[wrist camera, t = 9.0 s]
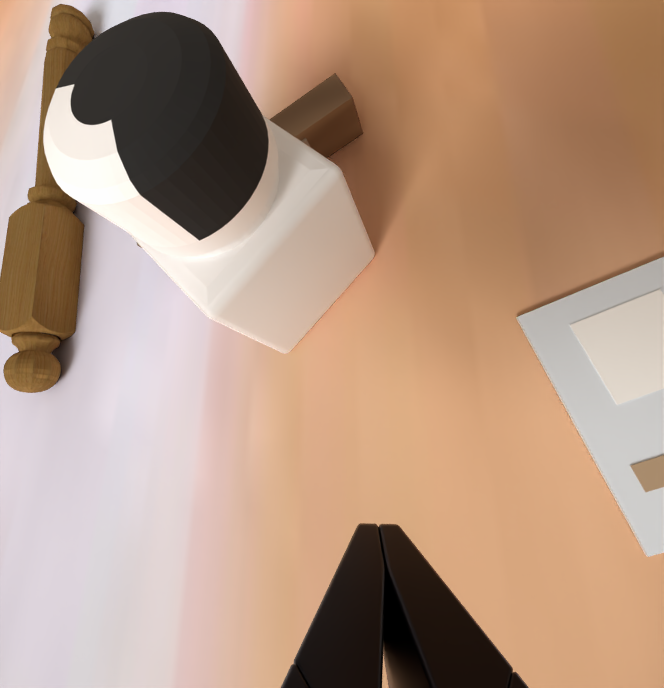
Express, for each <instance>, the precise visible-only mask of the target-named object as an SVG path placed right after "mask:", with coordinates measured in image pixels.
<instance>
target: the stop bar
mask: <svg viewBox="0 0 664 688" xmlns="http://www.w3.org/2000/svg"><path fill="white" fill-rule="evenodd" d="M270 121H271V122H273V123H274V124H276V125H277V126H279V127H280V128H282V129H283V130H285V131H286V132H288V133H289V134H291V135H292V136H294V137H295V138H297V139H298V140H300V141H301V142H303V143H304V144H306V145H307V146H309V147H310V148H312V149H313V150H315V151H316V152H318V153H319V154H321V155H322V156H324V157H325V158H327V157H328V156H330V155H331V154H333V153H334V152H336V151H337V150H339V149H340V148H342V147H343V146H345V145H346V144H348V143H349V142H351V141H352V140H354V139H355V138H357V137H358V136H360V135H361V134H363V132H362V129H361V125H360V122H359V118H358V115H357V111H356V108H355V104H354V101H353V97H352V96H351V94H350V93H349V92H348V90H347V89H346V87H345V86H344V85H343V83H342V82H341V81H340V79H339V78H338V76H337V75H336V74H334V75H332V76H331V77H329V78H328V79H326V80H325V81H324V82H322V83H321V84H319V85H318V86H317V87H315V88H314V89H312V90H311V91H309V92H308V93H307V94H305V95H304V96H302V97H301V98H300V99H298V100H297V101H295V102H294V103H292V104H291V105H290V106H288V107H287V108H285V109H284V110H283V111H281V112H280V113H278V114H277V115H276V116H274V117H273V118H271V119H270ZM137 245H138V246H139V247H141V246H140V245H139V244H138V243H137ZM141 248H142V247H141Z"/></svg>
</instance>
